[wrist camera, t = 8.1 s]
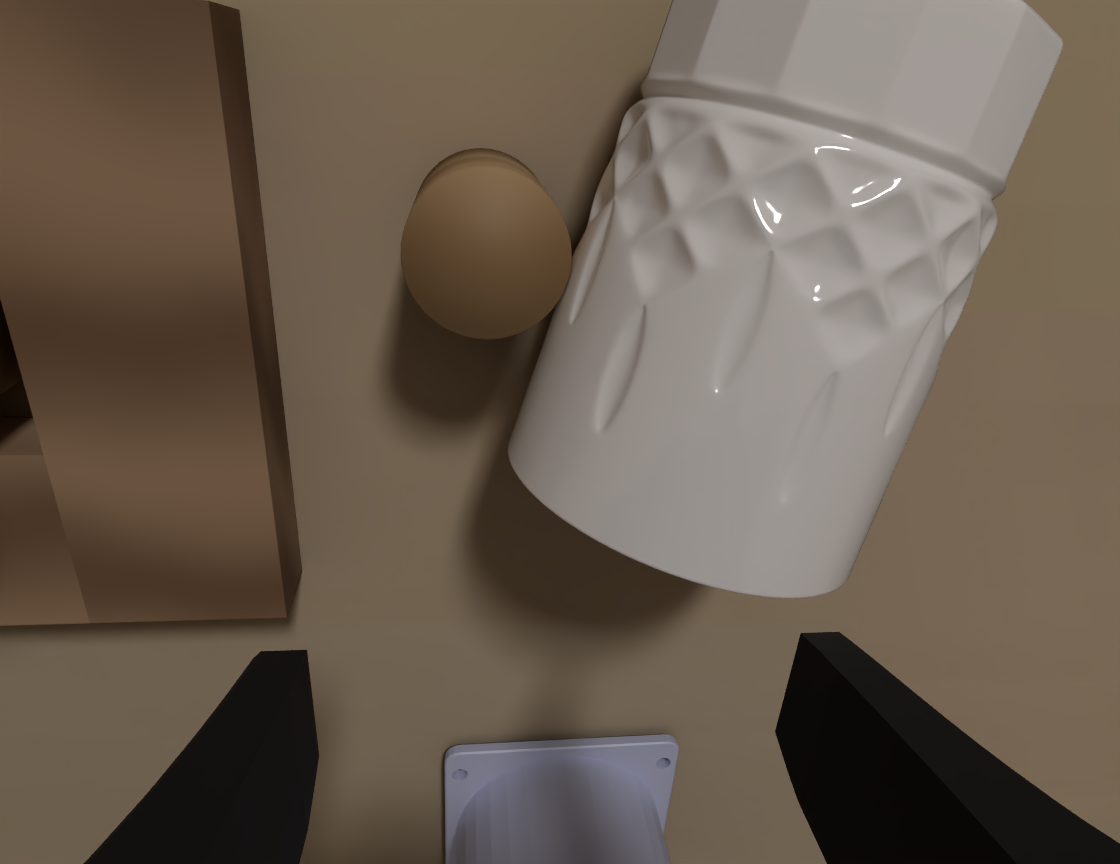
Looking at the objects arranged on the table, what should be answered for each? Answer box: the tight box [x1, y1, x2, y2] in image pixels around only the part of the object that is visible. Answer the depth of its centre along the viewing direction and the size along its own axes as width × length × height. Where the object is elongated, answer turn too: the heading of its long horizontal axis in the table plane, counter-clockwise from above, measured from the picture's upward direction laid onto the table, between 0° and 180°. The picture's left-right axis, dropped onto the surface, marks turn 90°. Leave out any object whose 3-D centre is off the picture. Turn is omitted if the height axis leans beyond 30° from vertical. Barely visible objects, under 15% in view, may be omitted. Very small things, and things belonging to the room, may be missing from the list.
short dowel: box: [401, 148, 571, 339], centre depth 16 cm, size 3×3×4 cm
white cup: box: [508, 0, 1063, 598], centre depth 15 cm, size 8×8×10 cm
